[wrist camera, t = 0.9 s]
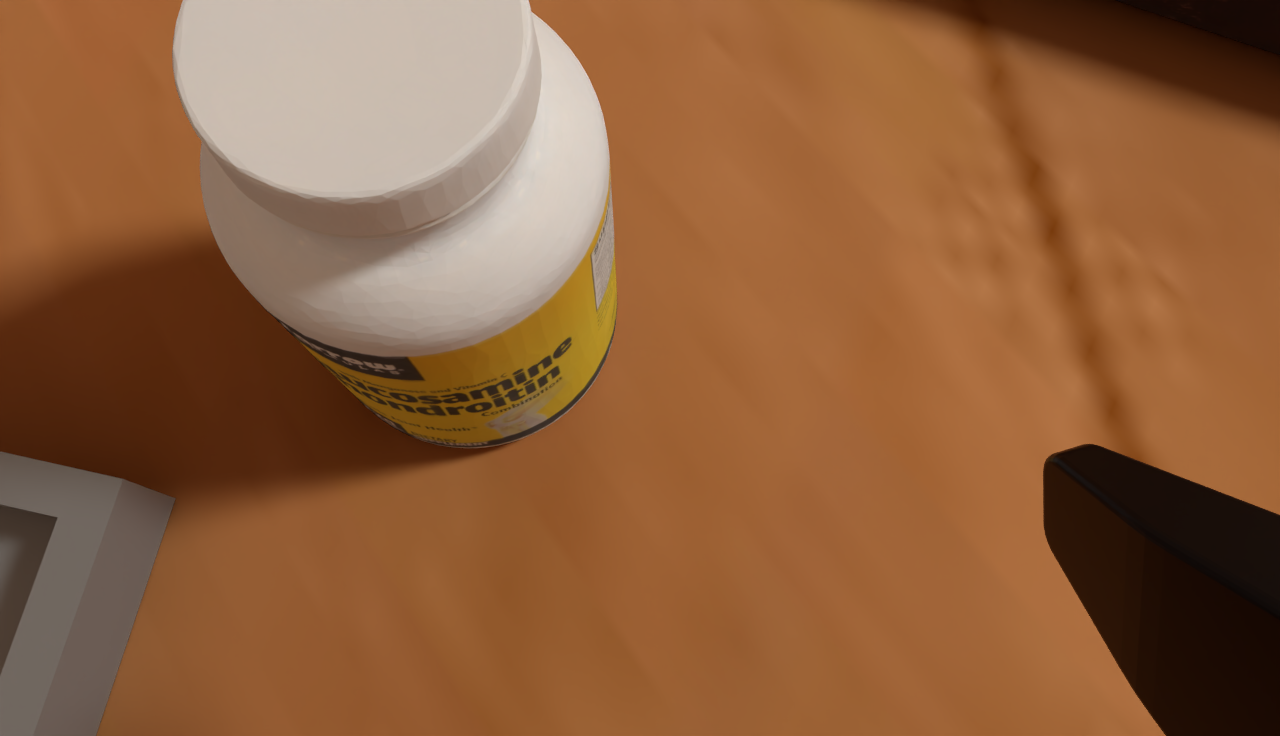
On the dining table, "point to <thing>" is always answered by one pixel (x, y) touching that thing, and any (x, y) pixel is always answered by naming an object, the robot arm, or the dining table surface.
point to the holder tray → (68, 590)
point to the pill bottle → (411, 200)
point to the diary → (1225, 18)
